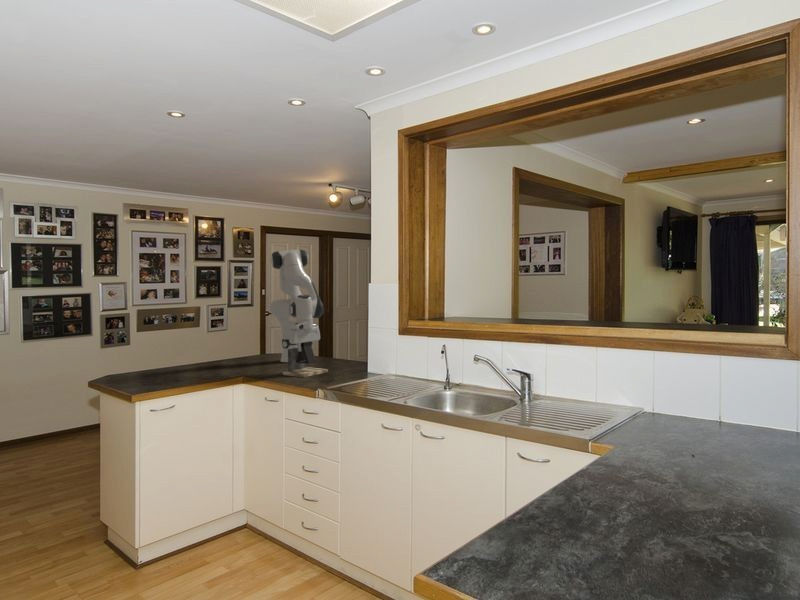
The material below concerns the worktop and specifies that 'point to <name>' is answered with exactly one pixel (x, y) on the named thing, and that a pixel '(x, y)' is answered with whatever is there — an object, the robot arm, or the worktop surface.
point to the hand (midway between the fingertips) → (305, 350)
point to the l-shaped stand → (300, 366)
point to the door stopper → (306, 354)
